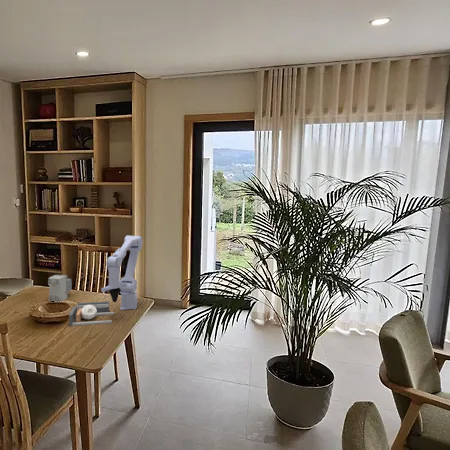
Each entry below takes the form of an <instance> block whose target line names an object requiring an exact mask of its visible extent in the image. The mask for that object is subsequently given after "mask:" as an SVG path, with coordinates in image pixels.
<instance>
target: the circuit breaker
mask: <svg viewBox="0 0 450 450" xmlns="http://www.w3.org/2000/svg"><path fill="white" fill-rule="evenodd" d="M47 279H48V280H47V284H48V285H47V286H49V287H48V288H49V289H48V290H49V294H48V302H49V301H62V302H63V301H65V300H67V299H68V298H69V294H68V293H69V292H71V291H72V290H73V289H72V287H73V286H72V285H73V284H72V283H73V282H72V278H68V275H66V274H55V275H52V276H50V277H48V278H47Z"/></svg>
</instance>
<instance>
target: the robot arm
mask: <svg viewBox="0 0 450 450" xmlns="http://www.w3.org/2000/svg"><path fill="white" fill-rule="evenodd" d="M143 243H144V240H143V237H142V236H141V235H129V234H128V235H126V236H125V237H124V241H123V244H122V245H121V247H119V248H117V249H116V250H115V252H114V253H113V254H112V255H111V256H109V257H107V259H106V262H105V263H106V267H107V271H108V285H107V286H104V287H102V288H101V289H100V291H101V293H105V292H108V293H109V294H110V296H111V300H112V302H113V303H116V302H118V298H119V294H120V299H121V300H120V309H119V310H120V311H121V310H122V311H123V310H124V311H125V310H136V308H137V309H138V307H137V306H138V292H137V288H138V285H137V284H138V281H137V279H135V278H134V276H135V272H136V267H137V263H138V257H139V253H140V251H142V248H143ZM128 250H129V257H128V260H127V265H126V270H125V274H124V277H122V278H121V277H120V276H121V275H120V274H121V273H120V271H121V270H120V269H121V266H122V264H123V263H122V262H123V260H124V258H125V257H126V255H127V251H128Z"/></svg>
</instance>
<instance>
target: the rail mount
mask: <svg viewBox="0 0 450 450" xmlns="http://www.w3.org/2000/svg"><path fill="white" fill-rule="evenodd" d="M86 305H93V306H94V307H95V308H96V310H97V313H96V315H95V316H94V317H96V316H98V317H99V316H113V315H115V312H114V311H110V301H92V302H78V303H77V305H76V306H75V305H74V306H73V307H72V309H71V311H70V312H69V314H68V326H69V327H73V326H85V325H86V326H89V325H100V324H101V325H102V324H103V325H104V324H112V323H113V320H112V319H108V320H98V321H97V320H95V321H80V322H75V321H76V314H77V312H78V310H79V308H83V307H84V306H86Z"/></svg>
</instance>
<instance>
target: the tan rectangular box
mask: <svg viewBox="0 0 450 450" xmlns="http://www.w3.org/2000/svg"><path fill="white" fill-rule="evenodd" d="M81 310H82V308H79V310H78V309H77V314H76V320H75V321H76V322H82V319H83V317H82V315H81ZM76 322H75V323H76Z"/></svg>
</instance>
